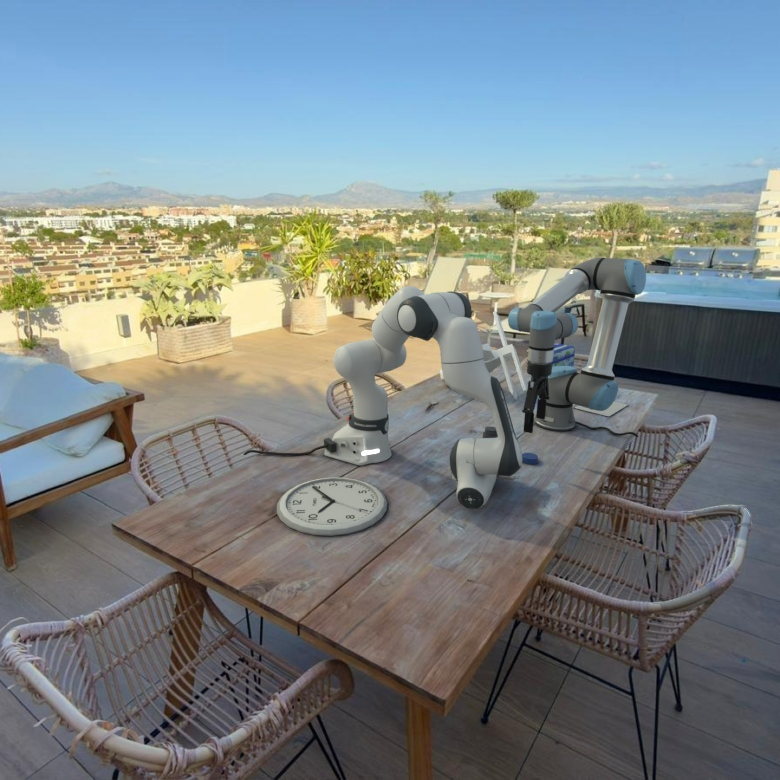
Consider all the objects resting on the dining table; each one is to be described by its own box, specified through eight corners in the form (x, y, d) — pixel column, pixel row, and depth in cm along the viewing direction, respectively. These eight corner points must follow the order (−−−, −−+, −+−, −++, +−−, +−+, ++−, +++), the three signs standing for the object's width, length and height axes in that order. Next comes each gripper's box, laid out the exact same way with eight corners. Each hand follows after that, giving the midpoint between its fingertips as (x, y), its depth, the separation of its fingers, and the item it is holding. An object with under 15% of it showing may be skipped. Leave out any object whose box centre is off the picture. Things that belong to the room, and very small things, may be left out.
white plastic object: (461, 429, 252) (437, 405, 227) (444, 352, 274) (420, 323, 250) (535, 404, 240) (518, 377, 215) (510, 326, 262) (492, 293, 237)
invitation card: (608, 416, 214) (573, 407, 224) (608, 416, 214) (573, 408, 224) (628, 404, 229) (594, 396, 238) (628, 405, 229) (594, 397, 238)
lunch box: (547, 395, 239) (552, 351, 233) (526, 390, 247) (530, 347, 240) (574, 384, 257) (579, 343, 251) (554, 380, 264) (558, 339, 258)
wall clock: (392, 527, 129) (268, 531, 127) (391, 533, 130) (269, 537, 127) (383, 473, 158) (282, 475, 155) (383, 478, 158) (282, 480, 156)
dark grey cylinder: (498, 475, 162) (502, 429, 157) (487, 479, 159) (491, 432, 155) (487, 469, 166) (491, 424, 161) (476, 473, 163) (480, 427, 158)
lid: (517, 459, 173) (518, 454, 173) (530, 456, 176) (530, 451, 175) (528, 465, 169) (528, 460, 168) (540, 462, 171) (541, 457, 171)
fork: (422, 411, 216) (422, 407, 215) (433, 400, 230) (433, 396, 230) (428, 412, 215) (429, 407, 215) (438, 401, 230) (439, 396, 229)
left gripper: (519, 469, 145) (524, 450, 157) (447, 457, 151) (458, 440, 164) (517, 490, 147) (522, 469, 159) (446, 477, 153) (456, 459, 166)
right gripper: (539, 351, 174) (534, 410, 181) (515, 369, 154) (510, 435, 161) (562, 354, 171) (556, 414, 177) (540, 373, 150) (534, 441, 157)
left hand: (489, 454), depth 161 cm, fingers closed on dark grey cylinder, 5 cm apart
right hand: (534, 425), depth 169 cm, fingers open, 13 cm apart
